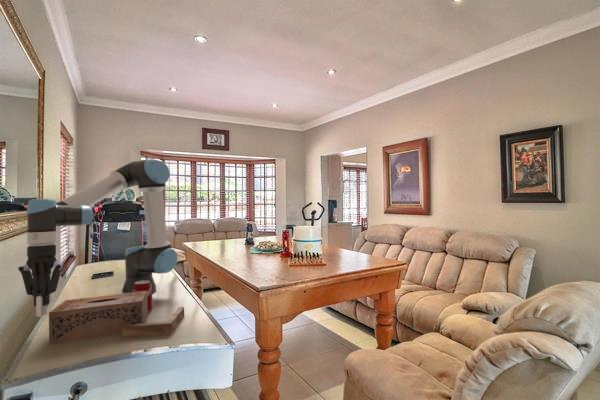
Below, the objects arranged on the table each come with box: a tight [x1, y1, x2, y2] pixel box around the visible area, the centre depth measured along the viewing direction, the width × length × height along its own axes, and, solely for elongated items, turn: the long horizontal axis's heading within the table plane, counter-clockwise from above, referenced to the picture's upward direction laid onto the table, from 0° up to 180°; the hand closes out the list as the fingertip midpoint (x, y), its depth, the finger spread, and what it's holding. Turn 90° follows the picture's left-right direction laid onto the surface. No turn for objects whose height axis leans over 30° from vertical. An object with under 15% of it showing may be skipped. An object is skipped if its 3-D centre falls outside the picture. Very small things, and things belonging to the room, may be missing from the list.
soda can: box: [133, 280, 153, 313], centre depth 123 cm, size 7×7×12 cm
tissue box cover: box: [48, 291, 149, 345], centre depth 106 cm, size 26×14×10 cm, turn 111°
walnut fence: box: [121, 306, 185, 339], centre depth 107 cm, size 17×15×4 cm
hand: (41, 315), depth 103 cm, fingers closed
